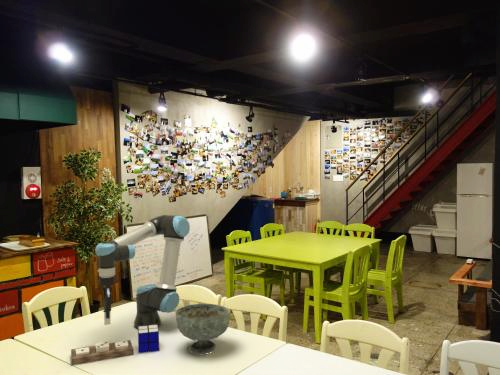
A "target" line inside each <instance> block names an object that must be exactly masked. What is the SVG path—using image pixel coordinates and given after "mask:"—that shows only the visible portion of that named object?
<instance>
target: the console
mask: <svg viewBox="0 0 500 375" xmlns="http://www.w3.org/2000/svg"><path fill="white" fill-rule="evenodd" d="M122 341H123V340H122ZM122 341H119V342H122ZM126 341H127V342H128V345H129V347H128V348H122V349H116V350H115V343H116V342H117V341H115V342H108V343H109V351H104V352H98V353H96V349H95V345H91V346H88V347H89V354H86V355H80V356H76V349H79V348H80V347H78V348H77V347H76V348H72V349H70V358H71V361H70V363H71V364H70V365H71V366H77V365H83V364H88V363H94V362H101V361H106V360H111V359H117V358H124V357H129V356H134V354H135V352H134V346H133V344H132V341H131V339H128V340H126ZM86 347H87V346H84V347H83V346H82V348H86Z"/></svg>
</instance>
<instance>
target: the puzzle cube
mask: <svg viewBox="0 0 500 375" xmlns="http://www.w3.org/2000/svg"><path fill="white" fill-rule="evenodd" d="M159 330H160V329H159V327H158V325H149V326H140V327H138V329H137V346H138V348H137V350H138V354H143V353H145V354H146V353H152V352H159V351H160V331H159Z"/></svg>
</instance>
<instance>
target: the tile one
mask: <svg viewBox="0 0 500 375" xmlns="http://www.w3.org/2000/svg"><path fill="white" fill-rule="evenodd" d="M85 347H86V348H83V347H78V348H79V349H76V348H75V349H76V356H80V355H86V354H89V346H85Z"/></svg>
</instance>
